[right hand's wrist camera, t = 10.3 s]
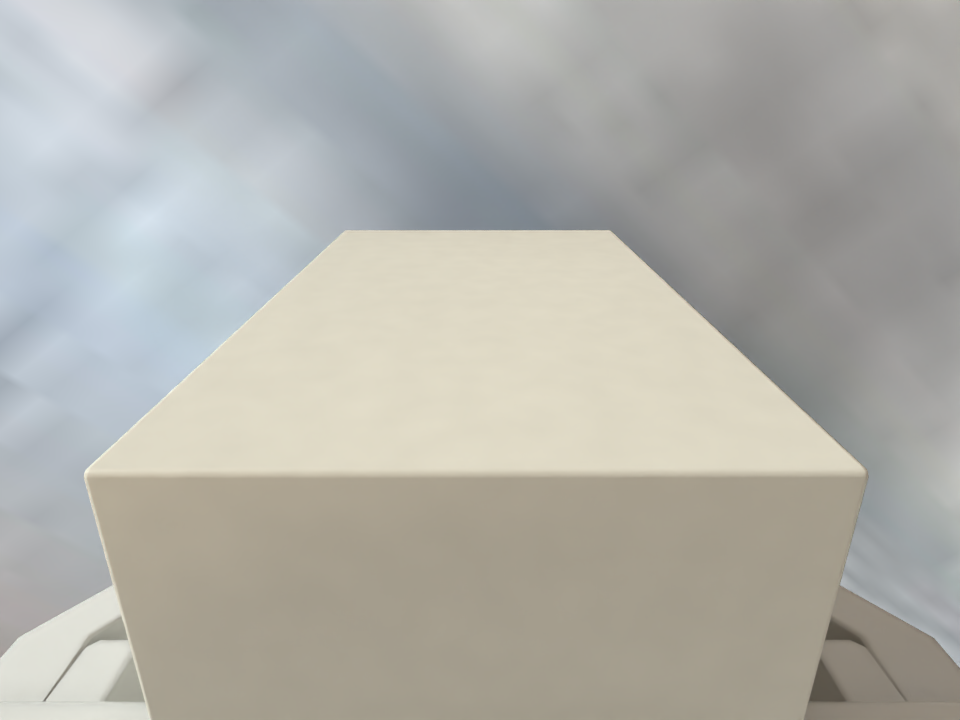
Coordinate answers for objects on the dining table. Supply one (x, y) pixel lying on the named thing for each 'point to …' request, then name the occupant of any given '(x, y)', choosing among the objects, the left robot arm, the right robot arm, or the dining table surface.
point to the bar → (476, 500)
